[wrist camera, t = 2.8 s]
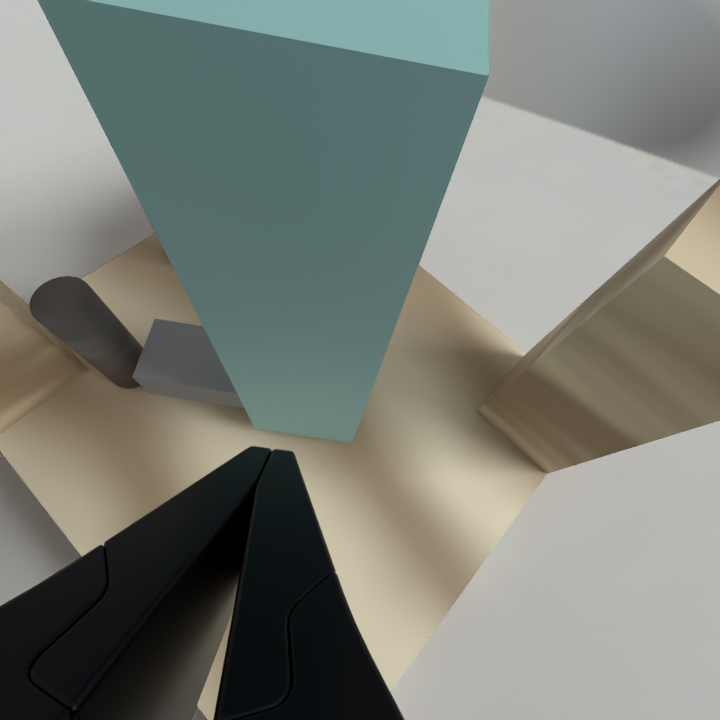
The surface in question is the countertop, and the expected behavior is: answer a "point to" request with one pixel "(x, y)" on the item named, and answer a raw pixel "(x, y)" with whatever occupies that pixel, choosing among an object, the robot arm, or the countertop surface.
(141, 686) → the robot arm
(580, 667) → the countertop surface
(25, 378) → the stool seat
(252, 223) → the folding leg
